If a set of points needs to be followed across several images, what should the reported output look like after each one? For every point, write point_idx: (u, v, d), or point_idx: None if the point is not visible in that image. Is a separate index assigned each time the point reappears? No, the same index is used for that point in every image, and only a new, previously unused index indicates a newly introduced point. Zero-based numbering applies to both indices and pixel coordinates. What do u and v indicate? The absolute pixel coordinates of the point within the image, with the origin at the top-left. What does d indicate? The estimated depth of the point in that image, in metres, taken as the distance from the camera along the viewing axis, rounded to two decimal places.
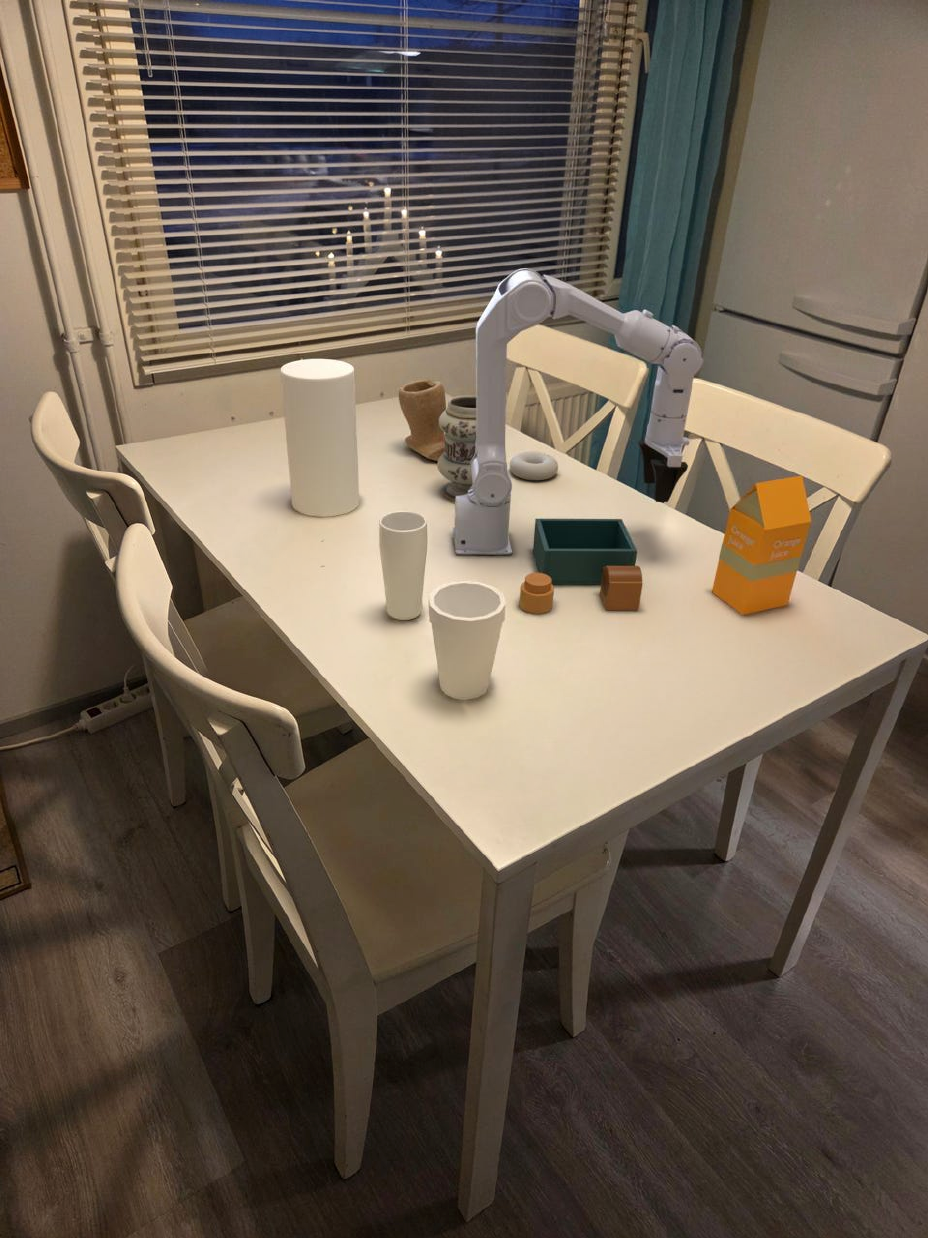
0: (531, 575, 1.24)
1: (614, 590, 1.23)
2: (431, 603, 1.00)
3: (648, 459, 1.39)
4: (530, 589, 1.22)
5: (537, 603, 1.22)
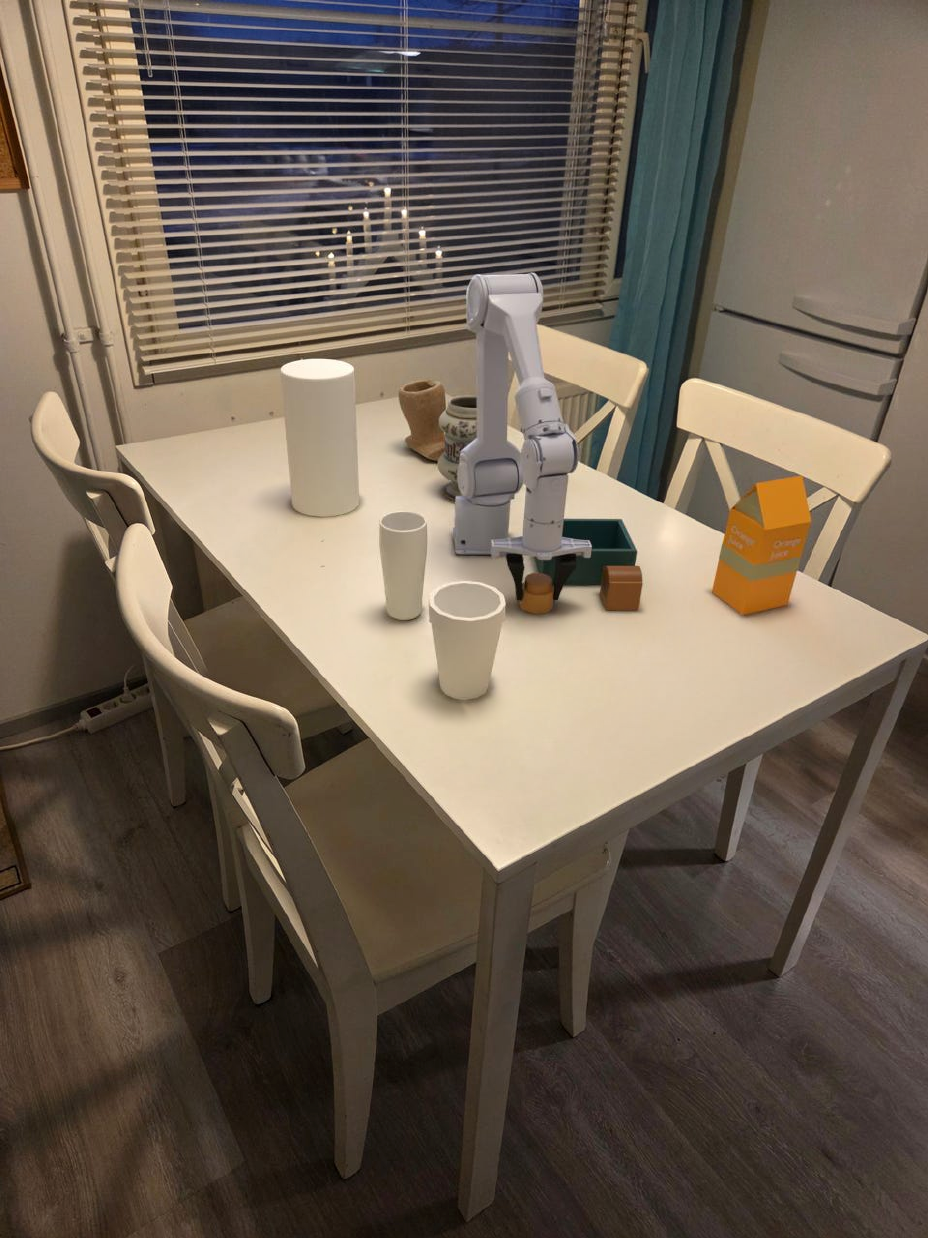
0: (531, 575, 1.24)
1: (614, 590, 1.23)
2: (431, 603, 1.00)
3: (555, 569, 1.24)
4: (530, 589, 1.22)
5: (537, 603, 1.22)
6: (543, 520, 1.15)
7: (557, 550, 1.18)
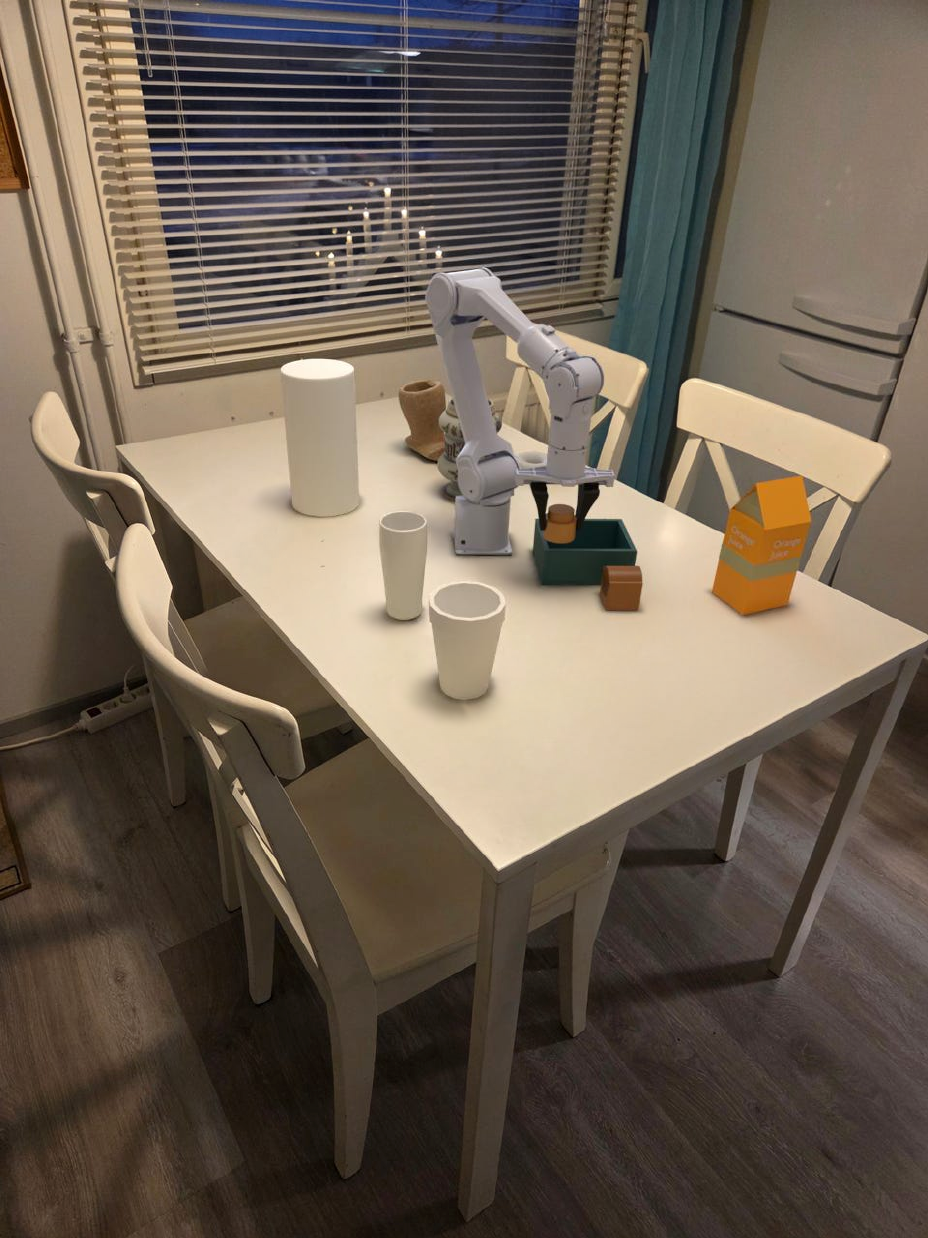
0: (554, 506, 1.26)
1: (614, 590, 1.23)
2: (431, 603, 1.00)
3: (578, 500, 1.26)
4: (553, 518, 1.25)
5: (560, 532, 1.25)
6: (575, 446, 1.17)
7: (581, 478, 1.20)
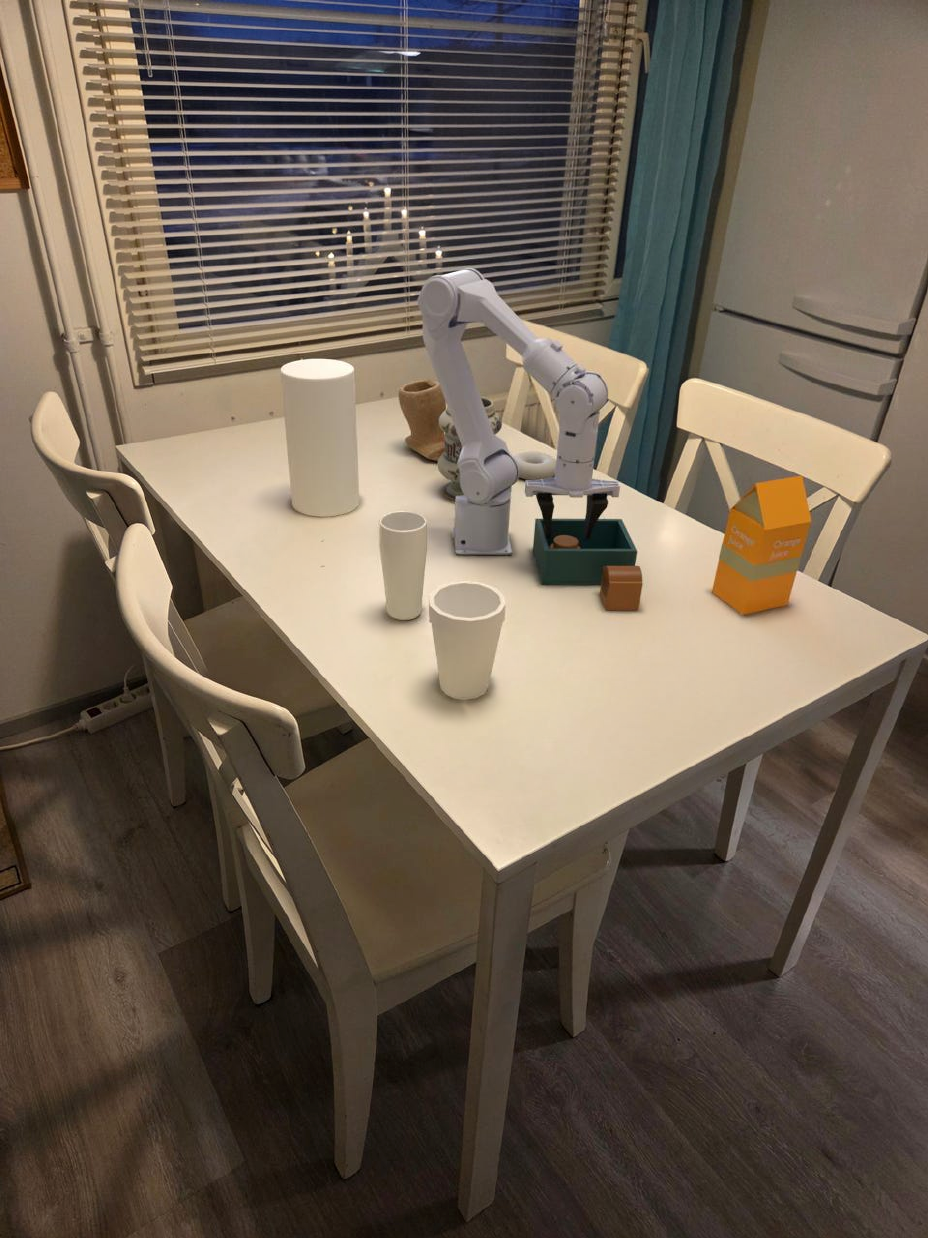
0: (559, 537, 1.34)
1: (614, 590, 1.23)
2: (431, 603, 1.00)
3: (587, 509, 1.31)
4: None
5: None
6: (587, 458, 1.23)
7: (588, 489, 1.26)
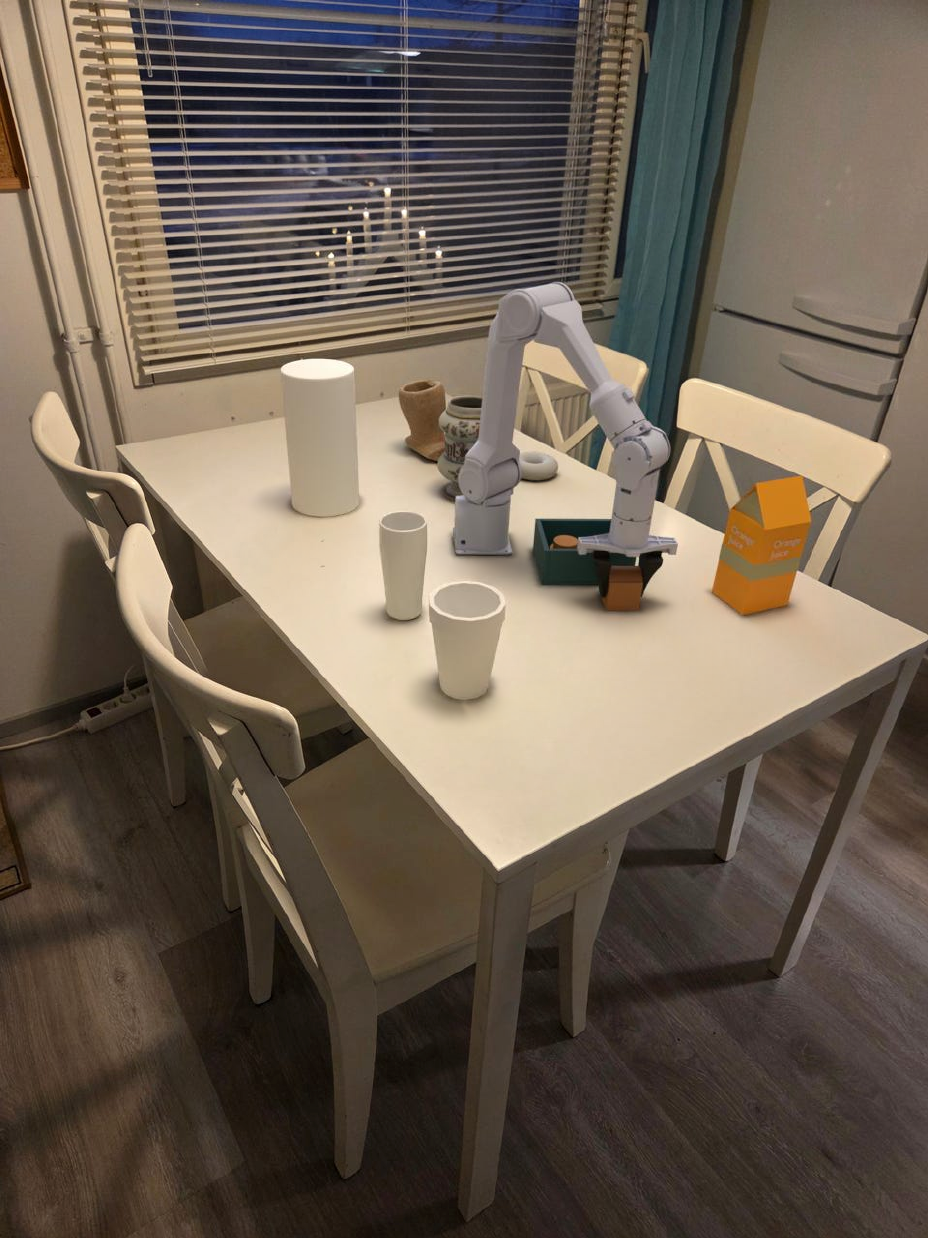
0: (559, 537, 1.34)
1: (615, 590, 1.23)
2: (431, 603, 1.00)
3: (639, 566, 1.25)
4: None
5: None
6: (643, 517, 1.17)
7: (645, 547, 1.20)
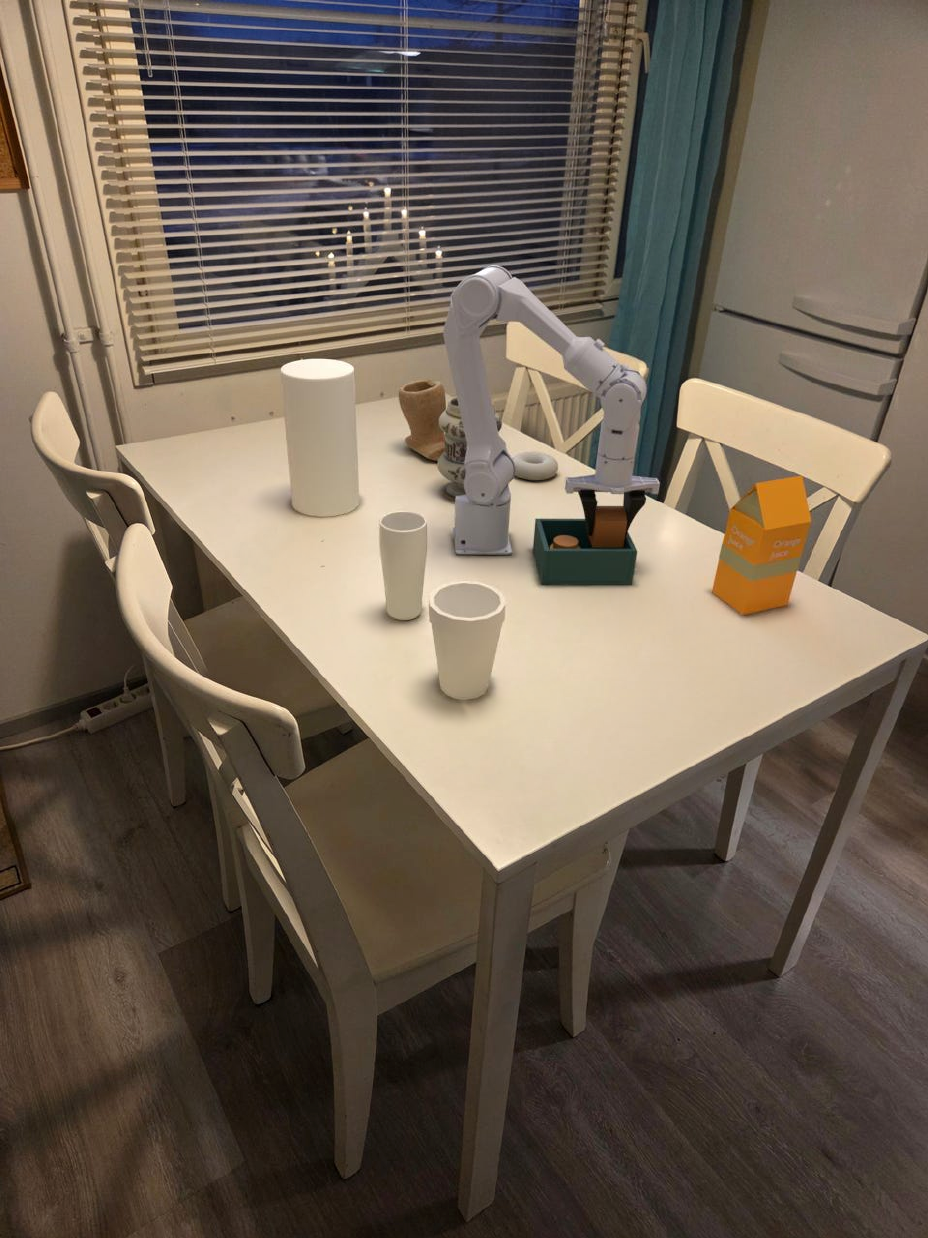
0: (559, 537, 1.34)
1: (600, 527, 1.30)
2: (431, 603, 1.00)
3: (624, 506, 1.32)
4: None
5: None
6: (632, 455, 1.24)
7: (628, 486, 1.27)
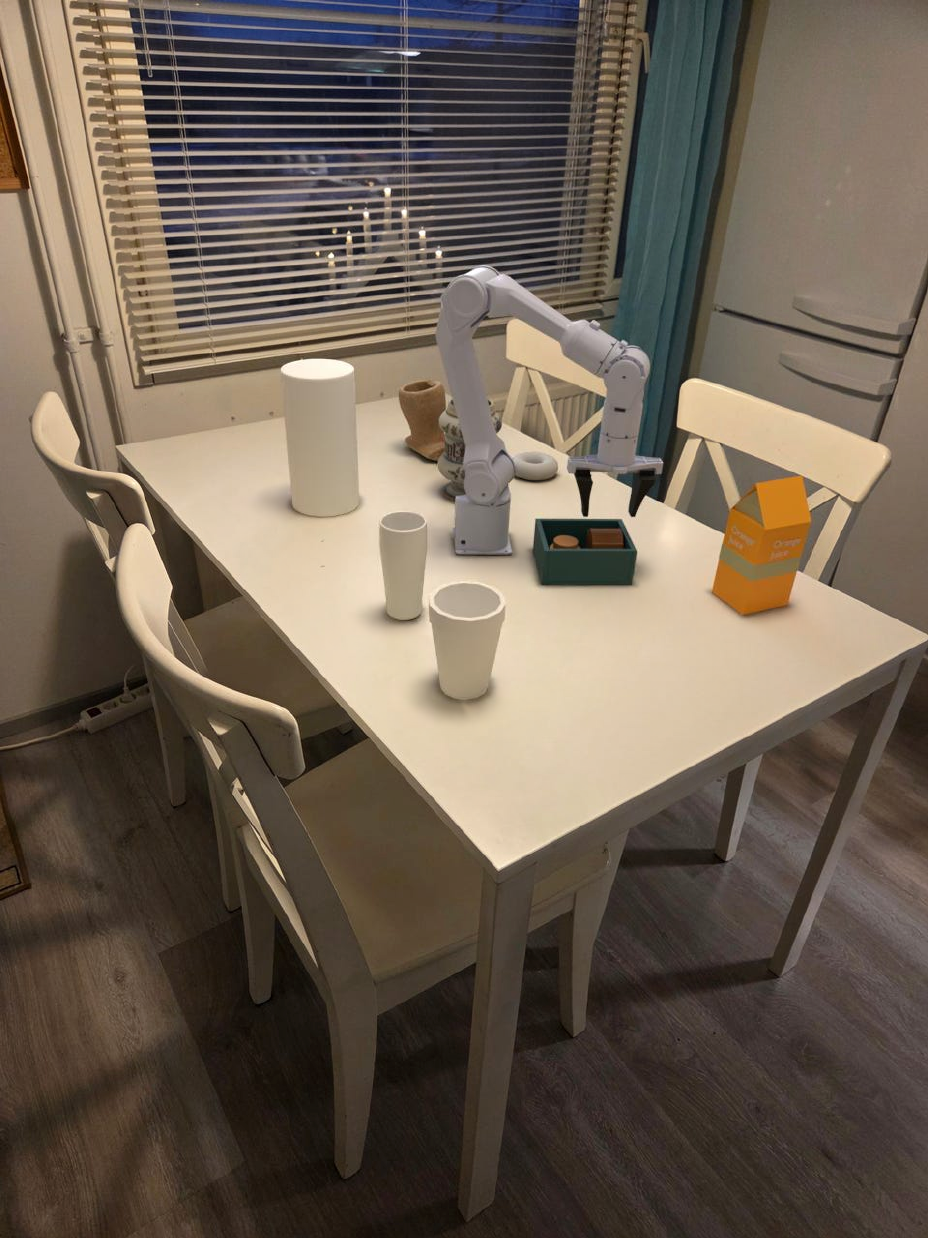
0: (559, 537, 1.34)
1: None
2: (431, 603, 1.00)
3: (633, 487, 1.31)
4: None
5: None
6: (635, 433, 1.23)
7: (631, 465, 1.25)
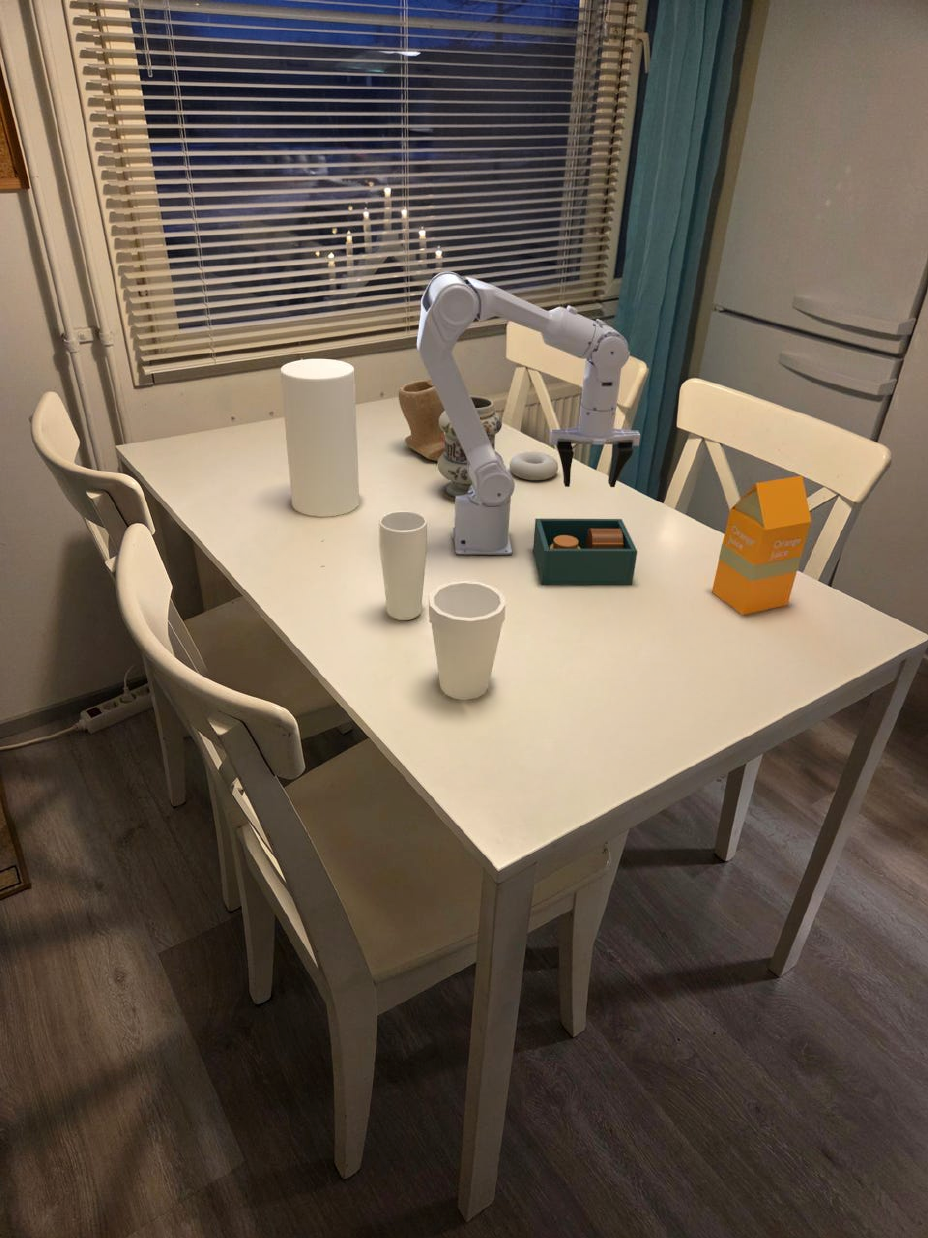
0: (559, 537, 1.34)
1: None
2: (431, 603, 1.00)
3: (612, 458, 1.38)
4: None
5: None
6: (616, 404, 1.31)
7: (610, 437, 1.32)
